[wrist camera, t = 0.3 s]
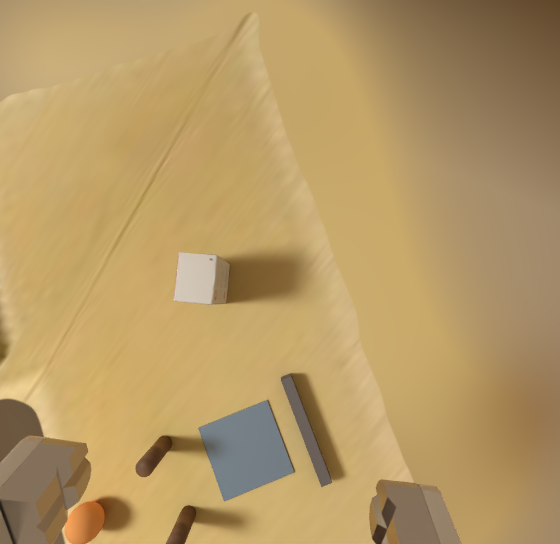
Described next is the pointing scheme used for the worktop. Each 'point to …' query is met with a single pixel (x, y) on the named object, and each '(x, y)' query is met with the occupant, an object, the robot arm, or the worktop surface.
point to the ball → (84, 523)
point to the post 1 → (153, 456)
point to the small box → (201, 279)
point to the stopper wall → (306, 430)
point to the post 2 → (182, 526)
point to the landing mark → (246, 450)
